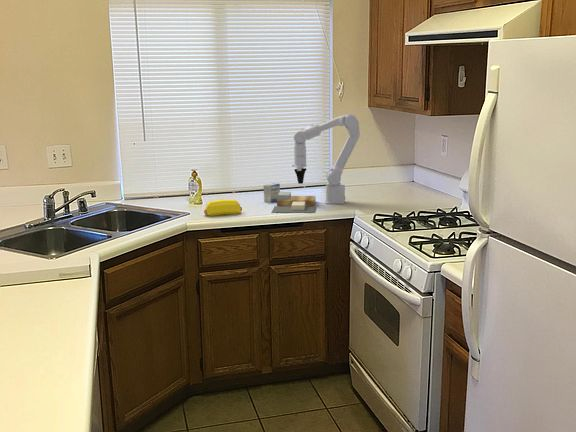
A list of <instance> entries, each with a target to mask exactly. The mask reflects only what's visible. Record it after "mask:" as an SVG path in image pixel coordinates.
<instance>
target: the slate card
mask: <svg viewBox="0 0 576 432" xmlns="http://www.w3.org/2000/svg"><path fill="white" fill-rule="evenodd" d="M291 196H292V191H280V192H279V194H278V200H289V199H290V197H291Z"/></svg>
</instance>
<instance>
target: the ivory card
mask: <svg viewBox="0 0 576 432" xmlns="http://www.w3.org/2000/svg"><path fill="white" fill-rule="evenodd" d="M305 206H306V202H293V203H292V205H291V210H304V209H305Z"/></svg>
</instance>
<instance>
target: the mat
mask: <svg viewBox="0 0 576 432" xmlns="http://www.w3.org/2000/svg"><path fill="white" fill-rule="evenodd" d="M316 209H317V205H314V206H305V209H304V210H291V206H277V205H274V207H273V209H272V210H271V214H314V213H315V214H316Z"/></svg>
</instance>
